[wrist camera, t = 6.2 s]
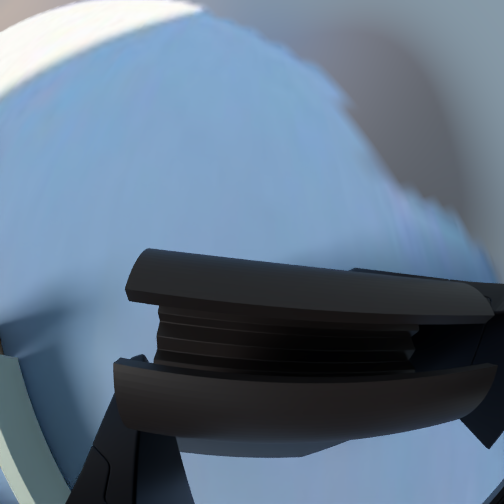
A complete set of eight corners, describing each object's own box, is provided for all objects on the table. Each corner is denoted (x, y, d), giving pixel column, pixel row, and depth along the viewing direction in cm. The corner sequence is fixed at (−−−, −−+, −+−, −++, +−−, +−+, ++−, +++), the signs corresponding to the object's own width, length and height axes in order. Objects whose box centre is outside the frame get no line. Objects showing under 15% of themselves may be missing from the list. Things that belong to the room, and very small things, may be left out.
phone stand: (196, 279, 16) (185, 81, 5) (307, 291, 17) (451, 143, 6) (179, 449, 12) (115, 600, 2) (298, 455, 13) (465, 555, 2)
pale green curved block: (89, 521, 13) (65, 548, 8) (62, 523, 12) (36, 547, 7) (17, 357, 17) (-22, 349, 12) (-6, 365, 16) (-45, 358, 11)
